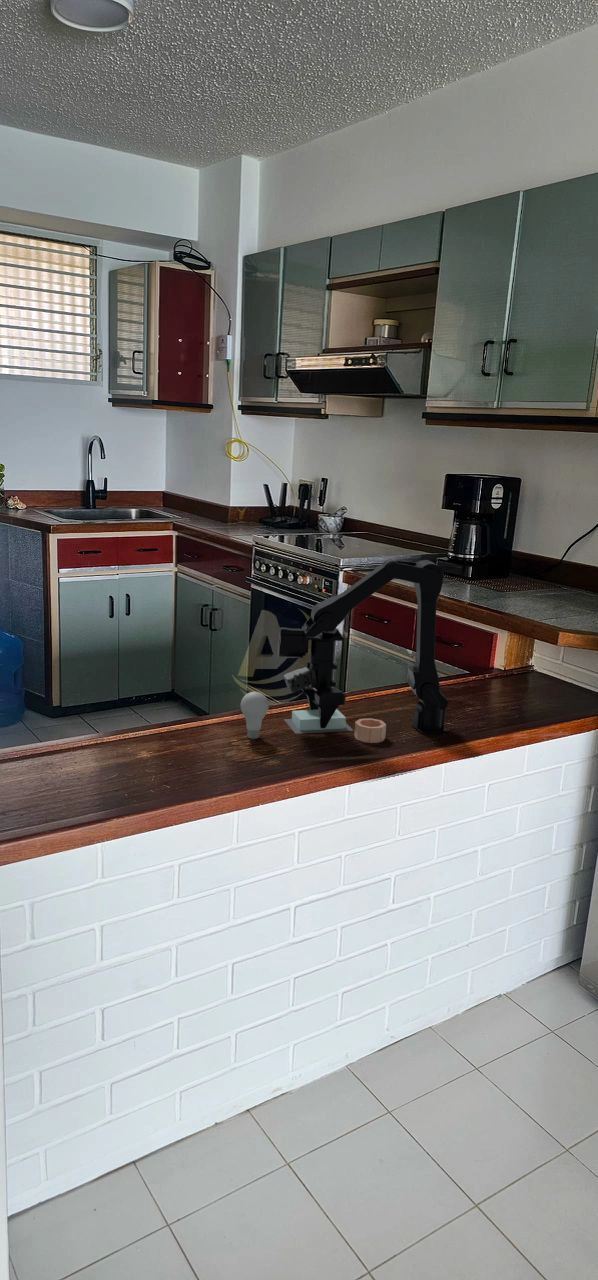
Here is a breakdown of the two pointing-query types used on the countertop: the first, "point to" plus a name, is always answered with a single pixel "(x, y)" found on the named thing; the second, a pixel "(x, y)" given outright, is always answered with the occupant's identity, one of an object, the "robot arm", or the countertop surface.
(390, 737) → the countertop surface
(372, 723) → the nut
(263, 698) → the lightbulb
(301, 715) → the pale teal block
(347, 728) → the mat
